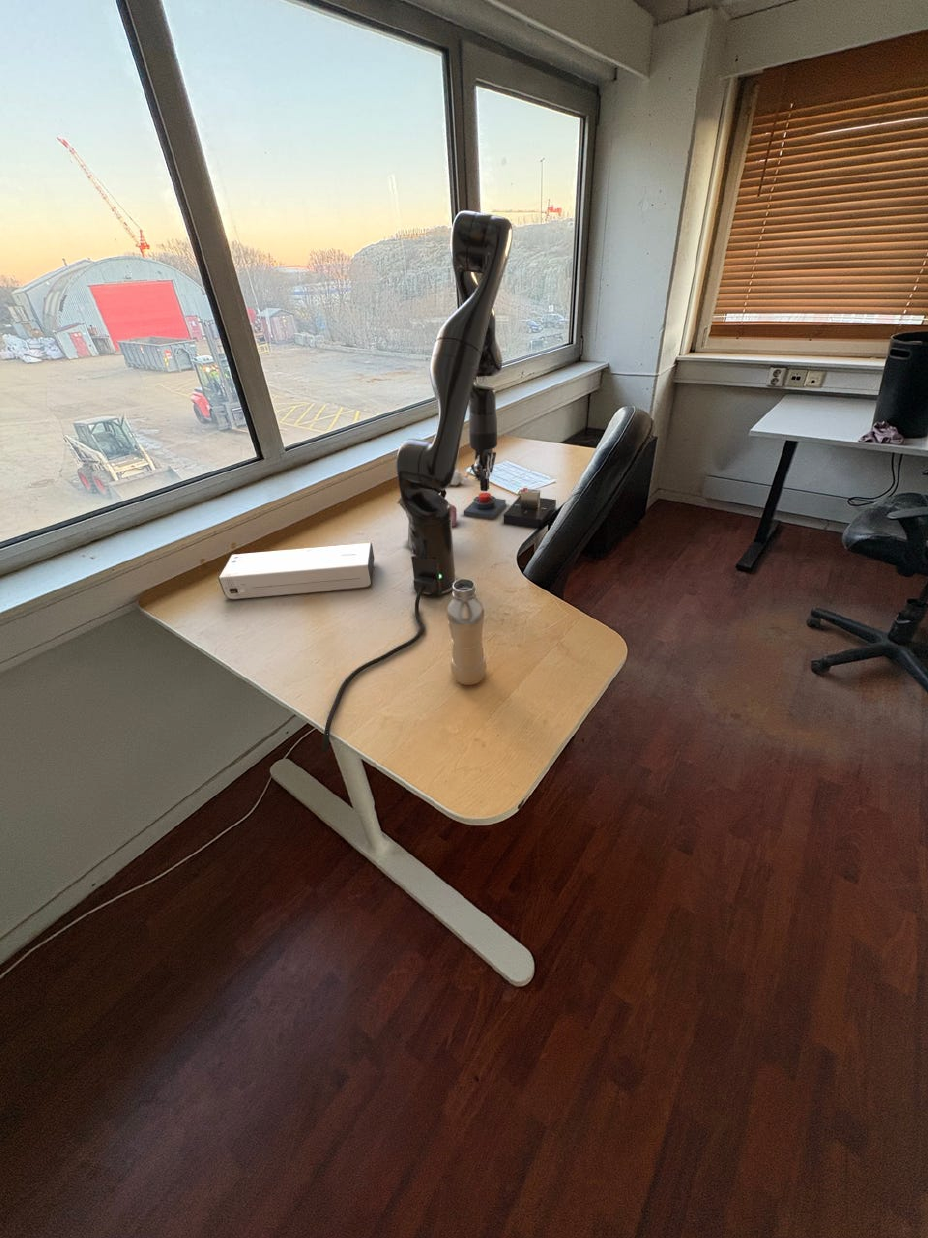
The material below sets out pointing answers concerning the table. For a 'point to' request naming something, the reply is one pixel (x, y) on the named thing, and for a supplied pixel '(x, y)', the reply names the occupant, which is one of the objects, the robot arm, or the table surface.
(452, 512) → the video game controller
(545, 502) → the hob panel
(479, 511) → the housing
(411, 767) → the table surface
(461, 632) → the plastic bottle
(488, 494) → the button
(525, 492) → the beige rectangular block
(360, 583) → the laminator
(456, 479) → the clip-on lamp
